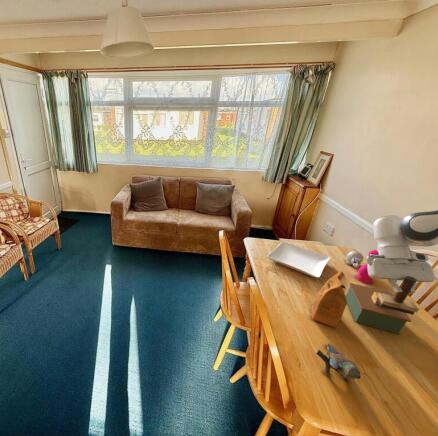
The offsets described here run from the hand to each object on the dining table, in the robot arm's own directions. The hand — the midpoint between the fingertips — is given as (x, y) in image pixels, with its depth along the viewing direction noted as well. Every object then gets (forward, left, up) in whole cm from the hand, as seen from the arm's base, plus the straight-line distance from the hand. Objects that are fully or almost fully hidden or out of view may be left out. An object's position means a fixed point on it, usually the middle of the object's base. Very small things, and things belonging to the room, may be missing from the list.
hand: (404, 292), depth 85 cm
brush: (0, -1, -8) cm, 8 cm away
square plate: (+25, -42, -22) cm, 54 cm away
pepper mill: (-6, -38, -22) cm, 44 cm away
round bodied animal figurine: (-3, -50, -22) cm, 55 cm away
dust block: (0, -9, -13) cm, 16 cm away
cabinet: (0, -10, -21) cm, 24 cm away
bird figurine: (+22, +27, -22) cm, 41 cm away
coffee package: (+19, 0, -22) cm, 29 cm away
